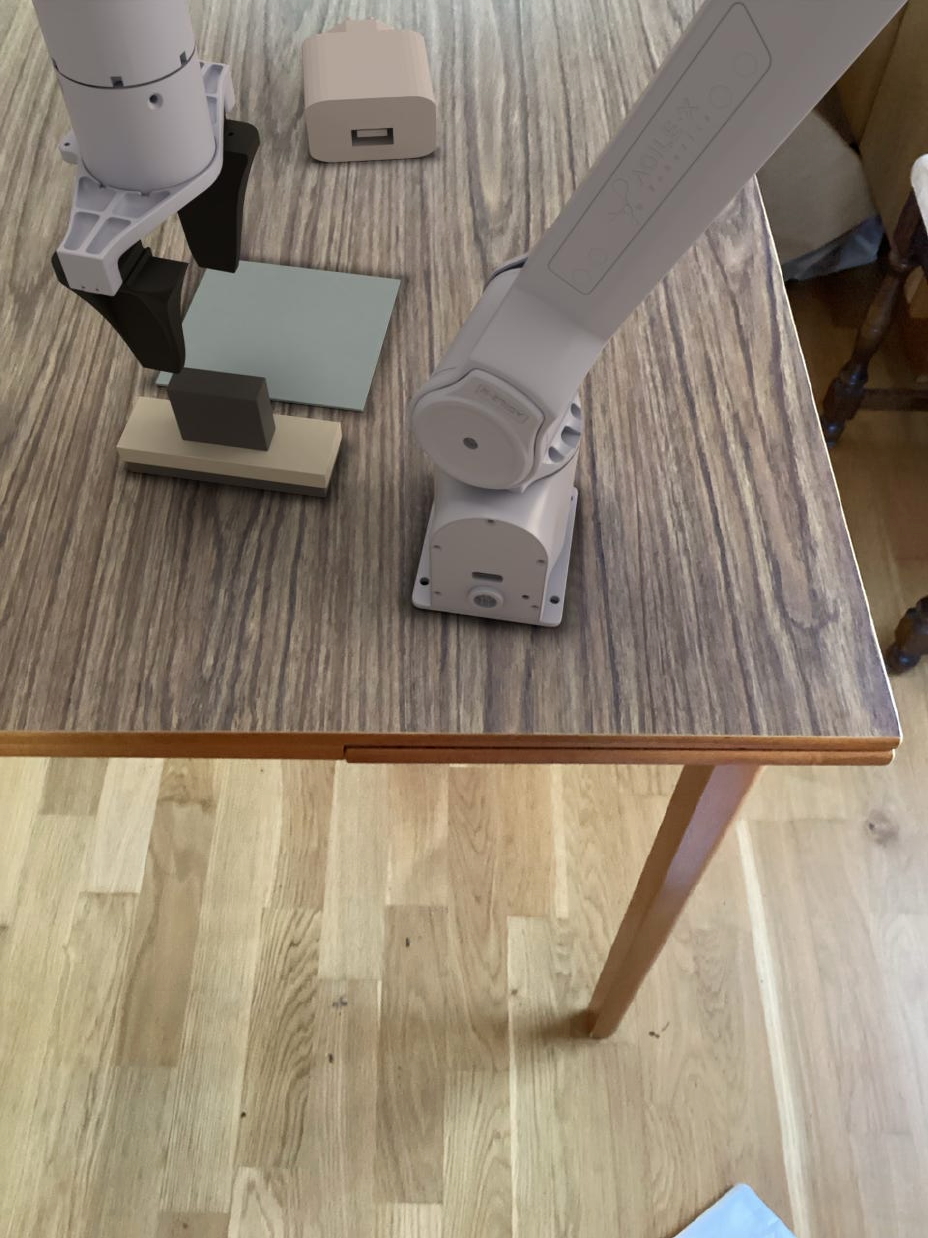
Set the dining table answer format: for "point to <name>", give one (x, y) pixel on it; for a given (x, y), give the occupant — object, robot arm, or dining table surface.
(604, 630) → the dining table surface
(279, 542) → the dining table surface
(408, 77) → the charger
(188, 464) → the brush
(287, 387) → the mat
